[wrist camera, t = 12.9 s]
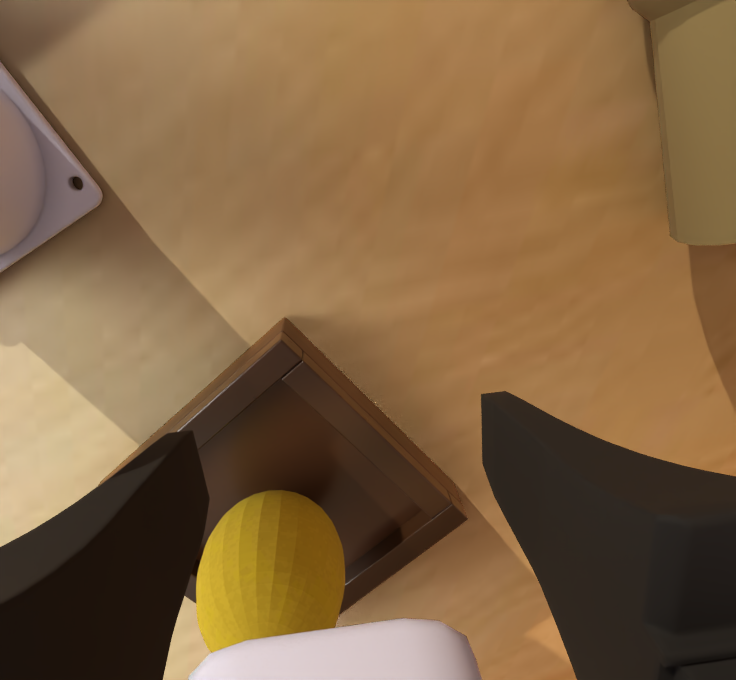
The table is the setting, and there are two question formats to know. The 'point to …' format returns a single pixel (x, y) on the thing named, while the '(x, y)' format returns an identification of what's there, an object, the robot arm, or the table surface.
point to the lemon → (269, 571)
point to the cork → (696, 114)
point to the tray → (316, 457)
